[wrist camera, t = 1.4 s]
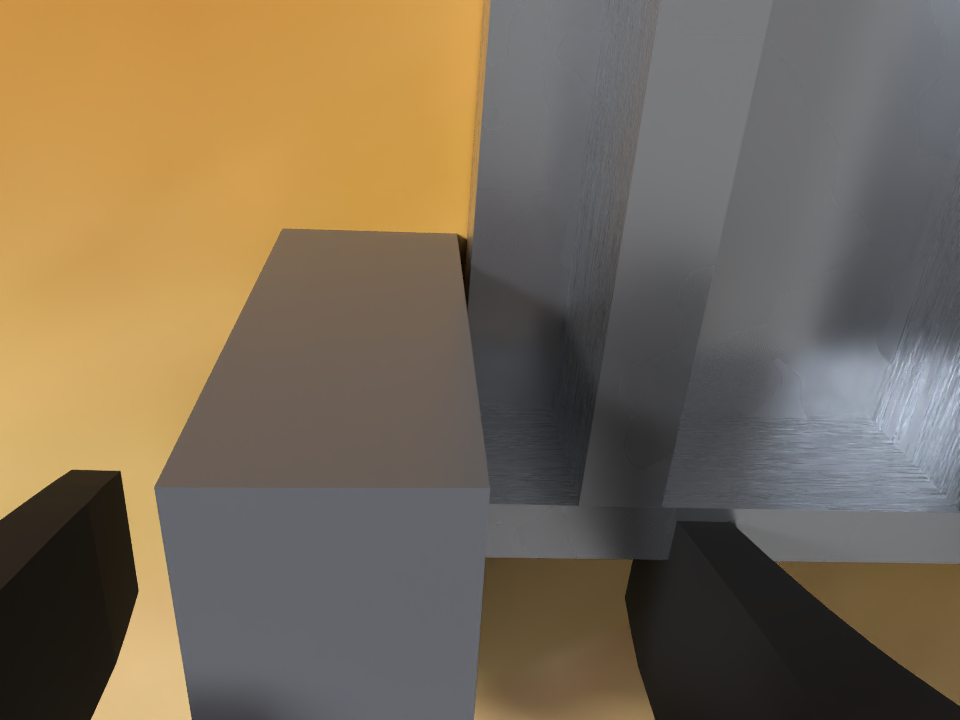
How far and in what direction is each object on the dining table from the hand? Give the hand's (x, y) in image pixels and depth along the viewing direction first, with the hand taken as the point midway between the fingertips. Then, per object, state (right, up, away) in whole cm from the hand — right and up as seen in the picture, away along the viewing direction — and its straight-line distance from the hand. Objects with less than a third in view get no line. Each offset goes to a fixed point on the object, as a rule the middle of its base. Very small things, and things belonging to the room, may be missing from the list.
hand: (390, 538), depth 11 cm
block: (0, +1, +2) cm, 2 cm away
